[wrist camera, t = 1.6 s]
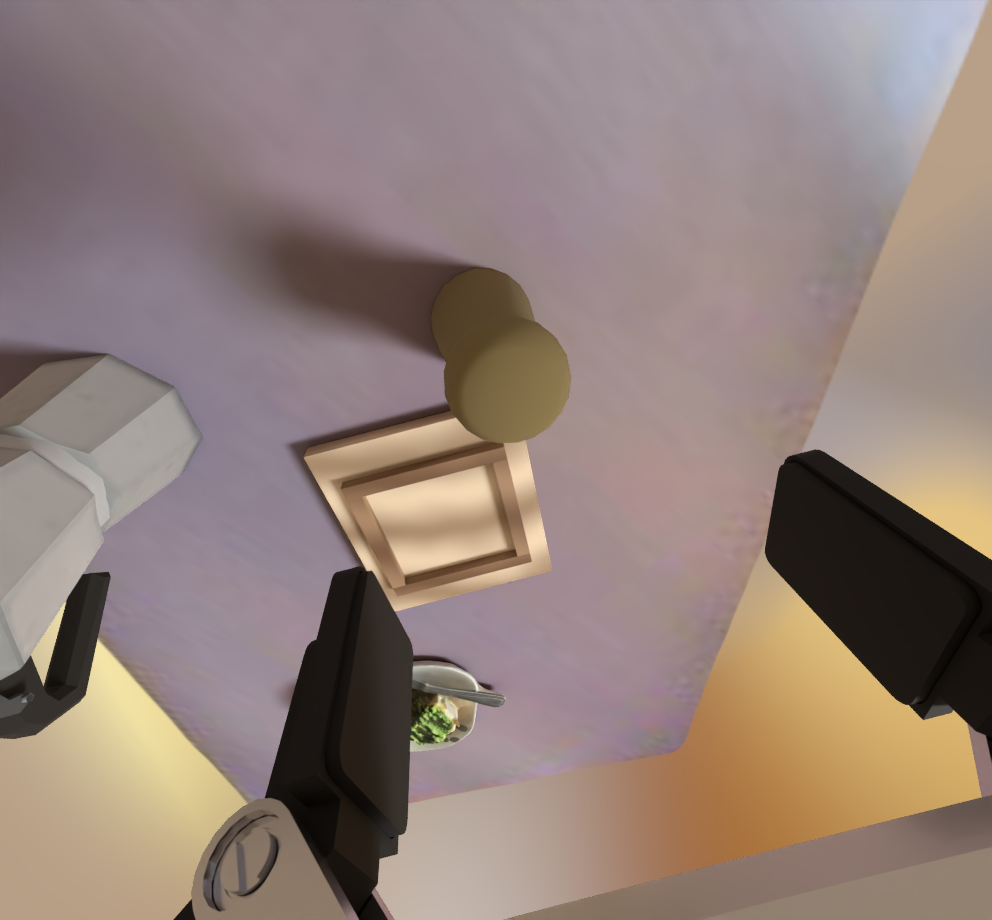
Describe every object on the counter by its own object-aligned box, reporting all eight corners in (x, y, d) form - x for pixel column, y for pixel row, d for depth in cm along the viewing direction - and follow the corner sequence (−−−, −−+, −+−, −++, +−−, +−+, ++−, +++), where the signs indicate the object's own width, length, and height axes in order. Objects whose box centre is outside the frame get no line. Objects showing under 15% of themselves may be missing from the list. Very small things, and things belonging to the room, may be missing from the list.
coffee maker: (-42, 327, 22) (-1068, 633, 7) (136, 303, 22) (-451, 539, 7) (124, 540, 30) (-177, 894, 15) (252, 519, 31) (85, 841, 16)
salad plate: (511, 637, 43) (520, 682, 39) (493, 730, 52) (499, 774, 48) (305, 650, 39) (292, 700, 36) (325, 747, 49) (317, 795, 45)
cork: (410, 299, 24) (401, 368, 15) (506, 247, 23) (559, 285, 14) (461, 387, 27) (479, 488, 18) (546, 343, 27) (611, 425, 17)
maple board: (307, 447, 28) (300, 464, 26) (514, 394, 28) (519, 407, 26) (391, 601, 37) (389, 620, 35) (548, 560, 37) (554, 577, 35)
